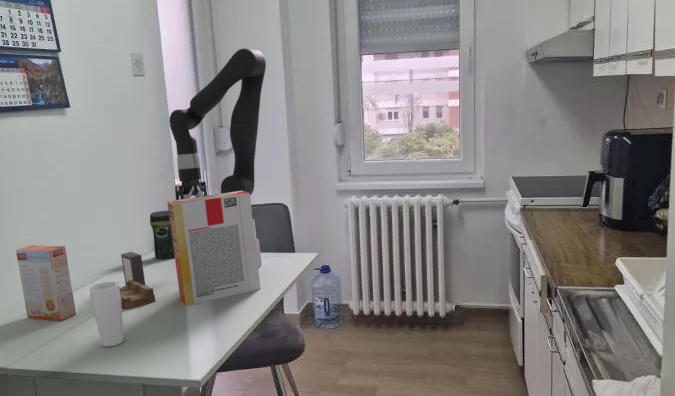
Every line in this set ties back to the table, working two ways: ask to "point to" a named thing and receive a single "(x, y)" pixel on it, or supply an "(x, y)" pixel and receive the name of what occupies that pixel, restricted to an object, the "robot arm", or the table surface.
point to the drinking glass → (108, 312)
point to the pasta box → (214, 246)
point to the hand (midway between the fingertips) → (193, 212)
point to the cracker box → (46, 282)
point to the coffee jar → (162, 234)
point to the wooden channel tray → (136, 295)
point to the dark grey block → (133, 267)
